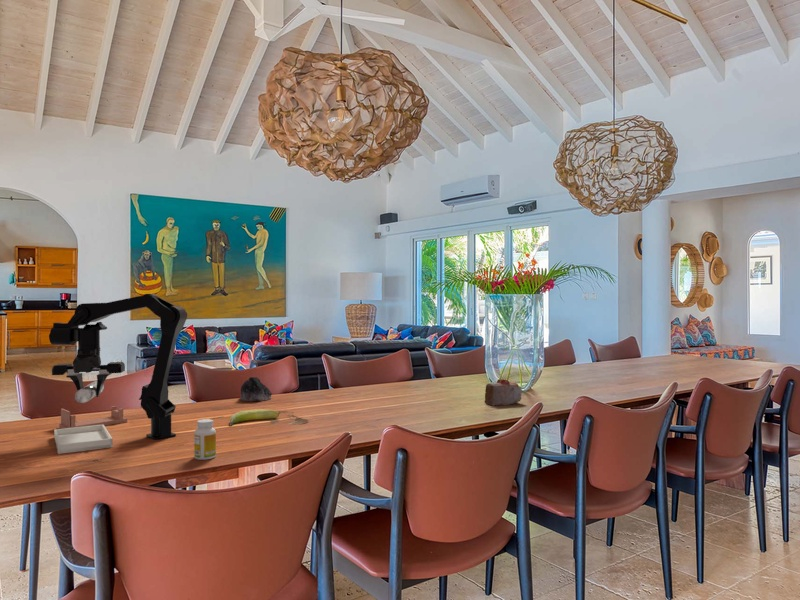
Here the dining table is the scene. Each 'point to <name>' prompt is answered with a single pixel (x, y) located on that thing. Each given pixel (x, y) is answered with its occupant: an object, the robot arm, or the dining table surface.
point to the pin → (87, 392)
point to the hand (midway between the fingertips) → (89, 397)
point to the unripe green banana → (261, 416)
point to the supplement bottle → (205, 440)
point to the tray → (82, 439)
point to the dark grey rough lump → (254, 390)
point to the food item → (502, 393)
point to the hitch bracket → (69, 420)
